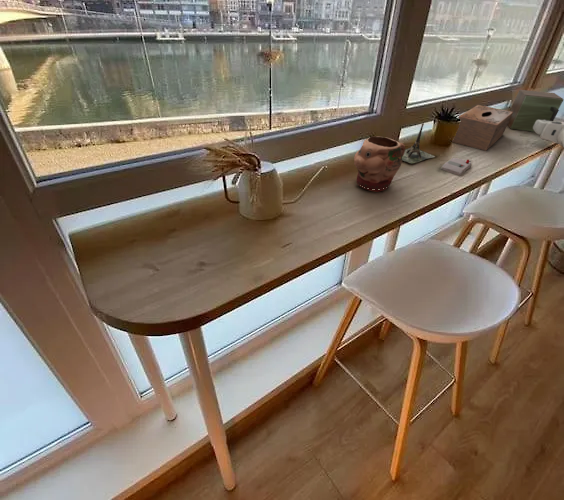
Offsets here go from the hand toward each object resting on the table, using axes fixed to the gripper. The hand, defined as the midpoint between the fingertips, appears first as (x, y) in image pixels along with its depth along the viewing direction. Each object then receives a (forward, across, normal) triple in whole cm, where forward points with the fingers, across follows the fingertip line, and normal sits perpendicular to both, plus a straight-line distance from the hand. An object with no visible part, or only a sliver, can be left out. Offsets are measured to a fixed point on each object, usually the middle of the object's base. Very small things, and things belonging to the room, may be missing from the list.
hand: (557, 123), depth 137 cm
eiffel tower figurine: (-42, +58, +7) cm, 71 cm away
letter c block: (+8, +5, +7) cm, 12 cm away
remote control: (-46, +42, +7) cm, 63 cm away
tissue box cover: (-10, +30, +7) cm, 32 cm away
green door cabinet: (+17, +5, +7) cm, 19 cm away
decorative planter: (-70, +69, +7) cm, 99 cm away
